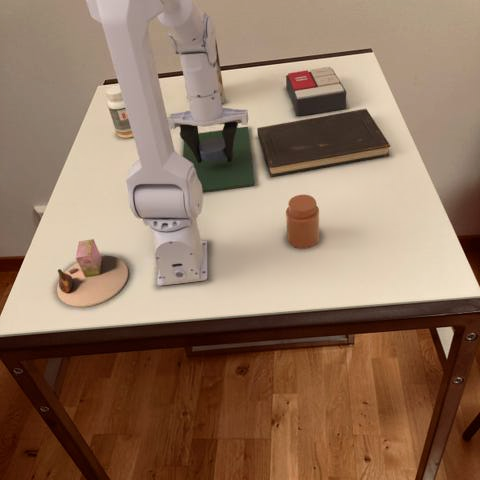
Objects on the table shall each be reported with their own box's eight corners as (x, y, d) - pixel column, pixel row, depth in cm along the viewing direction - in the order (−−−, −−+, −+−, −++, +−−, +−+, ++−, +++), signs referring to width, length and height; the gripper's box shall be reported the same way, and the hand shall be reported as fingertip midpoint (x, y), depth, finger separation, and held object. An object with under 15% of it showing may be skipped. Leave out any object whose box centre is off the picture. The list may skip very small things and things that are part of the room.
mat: (254, 185, 96) (254, 183, 95) (181, 195, 97) (180, 192, 96) (248, 129, 110) (247, 126, 110) (184, 137, 111) (184, 135, 111)
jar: (321, 246, 82) (321, 209, 77) (289, 250, 82) (287, 214, 77) (316, 226, 85) (315, 190, 80) (285, 230, 86) (283, 195, 80)
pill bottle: (144, 134, 115) (132, 90, 107) (120, 141, 114) (106, 97, 106) (138, 123, 118) (126, 80, 111) (114, 130, 117) (101, 87, 110)
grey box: (332, 64, 118) (346, 88, 108) (331, 83, 121) (346, 108, 111) (285, 71, 119) (295, 96, 108) (286, 90, 122) (296, 116, 111)
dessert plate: (62, 261, 87) (52, 241, 84) (131, 251, 87) (123, 230, 84) (51, 312, 79) (39, 291, 76) (127, 300, 79) (118, 279, 76)
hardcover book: (389, 156, 97) (390, 145, 95) (270, 177, 97) (269, 166, 95) (364, 117, 107) (365, 107, 106) (257, 136, 108) (256, 126, 106)
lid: (206, 145, 101) (204, 136, 99) (232, 147, 99) (231, 138, 98) (195, 160, 97) (193, 151, 96) (222, 163, 96) (221, 153, 94)
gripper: (246, 77, 90) (254, 147, 100) (168, 82, 93) (183, 150, 103) (241, 95, 86) (250, 166, 96) (159, 100, 88) (176, 169, 98)
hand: (215, 159), depth 99 cm, fingers closed on lid, 5 cm apart
